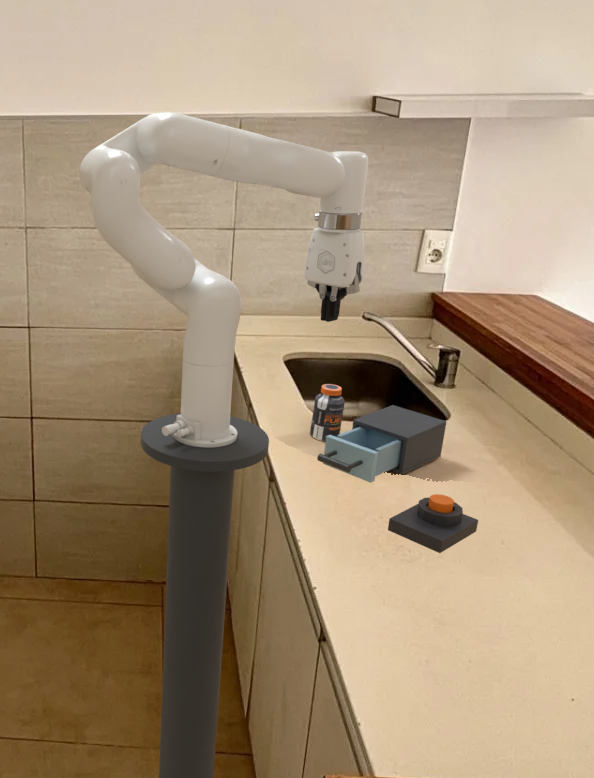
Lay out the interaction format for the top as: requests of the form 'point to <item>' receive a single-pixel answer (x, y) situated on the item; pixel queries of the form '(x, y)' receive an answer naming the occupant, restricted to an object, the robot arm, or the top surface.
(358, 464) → the blue drawer
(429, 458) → the drawer cabinet
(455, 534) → the control block
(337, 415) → the pill bottle
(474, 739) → the top surface
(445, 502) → the button
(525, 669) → the top surface
